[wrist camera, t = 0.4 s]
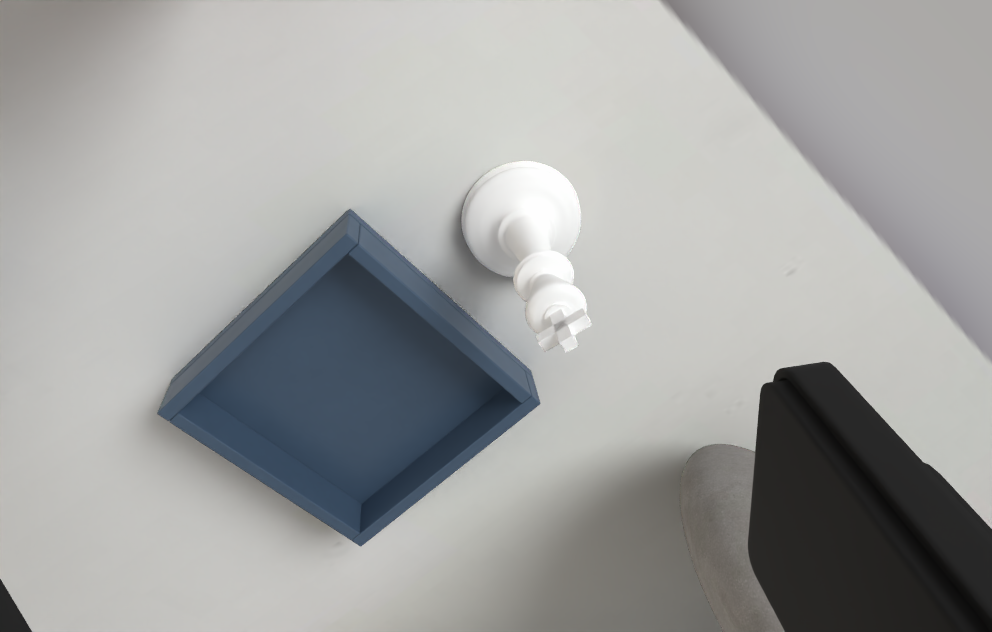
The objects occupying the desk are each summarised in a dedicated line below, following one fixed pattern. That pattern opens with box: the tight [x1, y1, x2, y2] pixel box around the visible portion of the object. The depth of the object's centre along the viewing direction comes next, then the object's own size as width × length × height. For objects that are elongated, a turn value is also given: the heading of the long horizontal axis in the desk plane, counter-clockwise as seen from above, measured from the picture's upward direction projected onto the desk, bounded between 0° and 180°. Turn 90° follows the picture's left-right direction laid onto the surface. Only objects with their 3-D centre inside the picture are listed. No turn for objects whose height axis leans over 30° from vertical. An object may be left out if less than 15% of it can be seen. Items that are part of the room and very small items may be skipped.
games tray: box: [157, 209, 540, 546], centre depth 33 cm, size 11×11×3 cm
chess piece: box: [461, 161, 592, 353], centre depth 27 cm, size 5×5×10 cm
